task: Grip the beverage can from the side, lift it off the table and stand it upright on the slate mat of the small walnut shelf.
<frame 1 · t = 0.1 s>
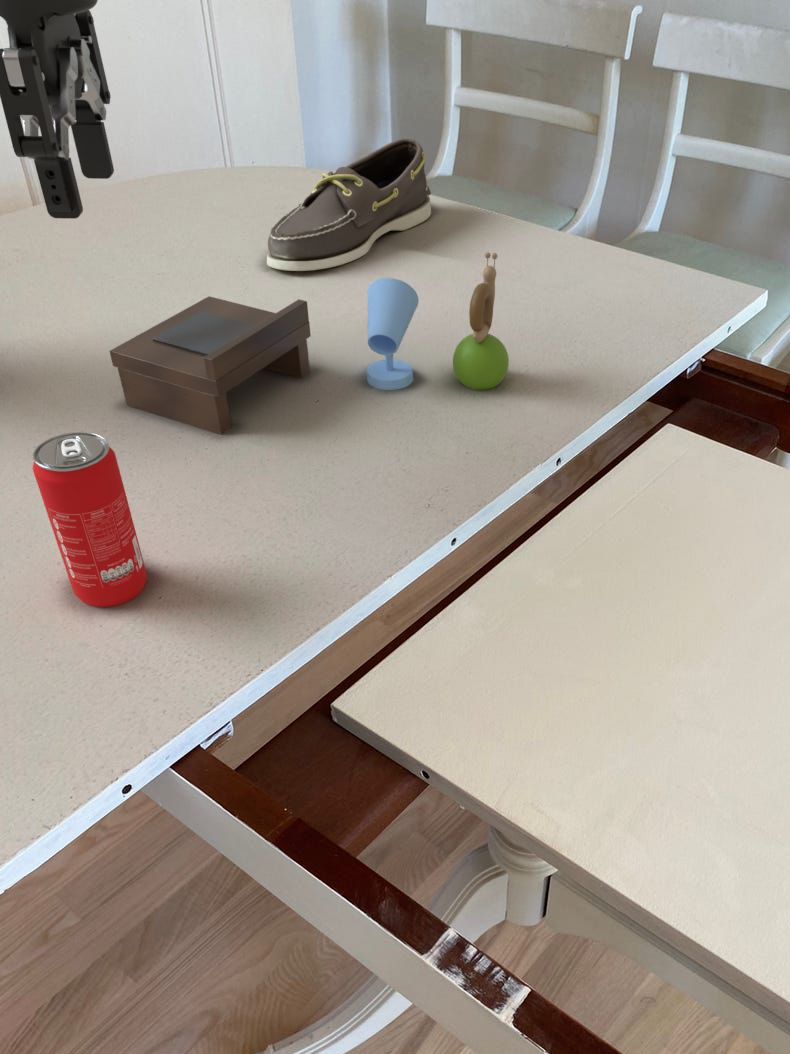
hand: (83, 196, 70), 22 cm above the table, tool pointing down, fingers open, 8 cm apart
boat shoe: (354, 242, 125), on the table
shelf: (222, 394, 94), on the table
snail figurine: (481, 387, 97), on the table
spotlight: (391, 385, 97), on the table
beverage can: (114, 594, 71), on the table
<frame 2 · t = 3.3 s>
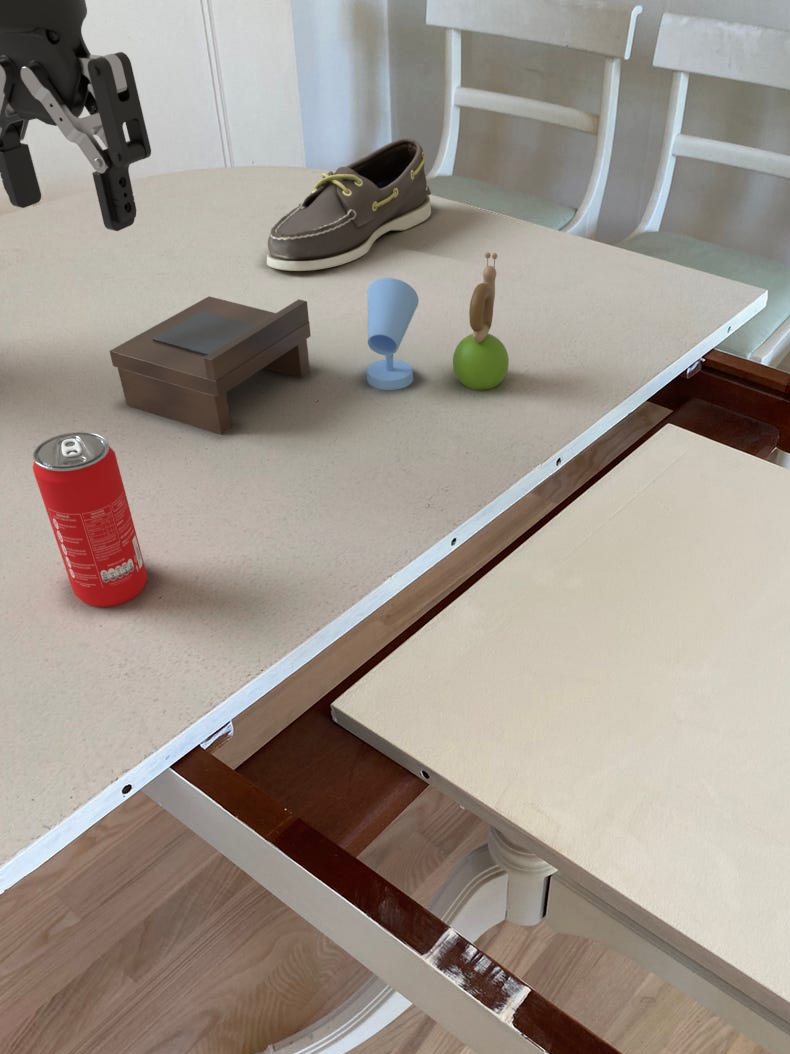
hand: (73, 215, 67), 22 cm above the table, tool pointing down, fingers open, 8 cm apart
nothing on the table moved.
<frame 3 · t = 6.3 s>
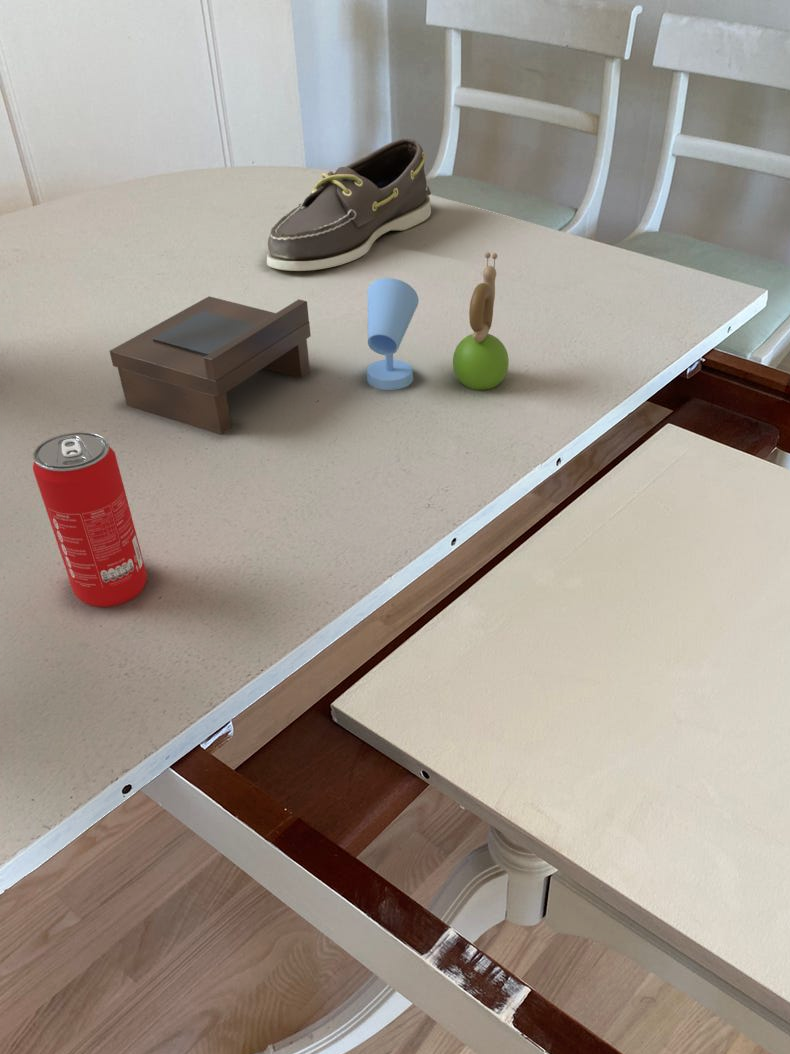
nothing on the table moved.
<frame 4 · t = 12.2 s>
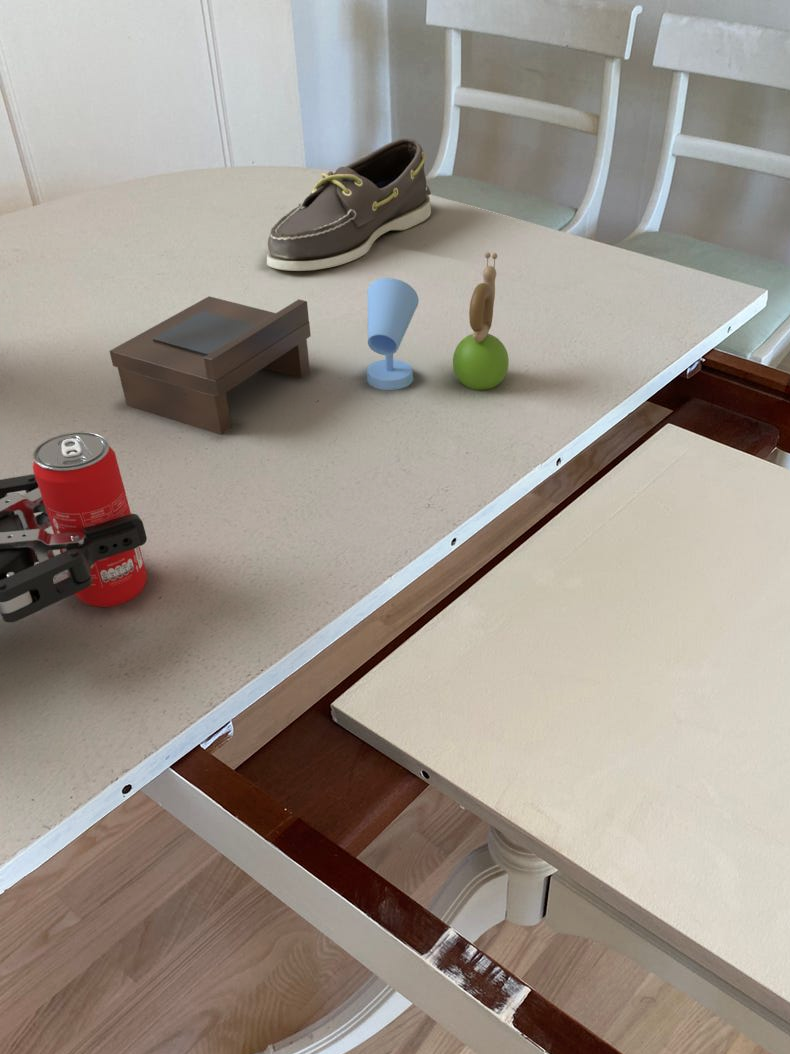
hand: (128, 507, 68), 7 cm above the table, tool horizontal, fingers closed on beverage can, 5 cm apart
beverage can: (114, 594, 71), on the table, touching gripper
everything else where it was.
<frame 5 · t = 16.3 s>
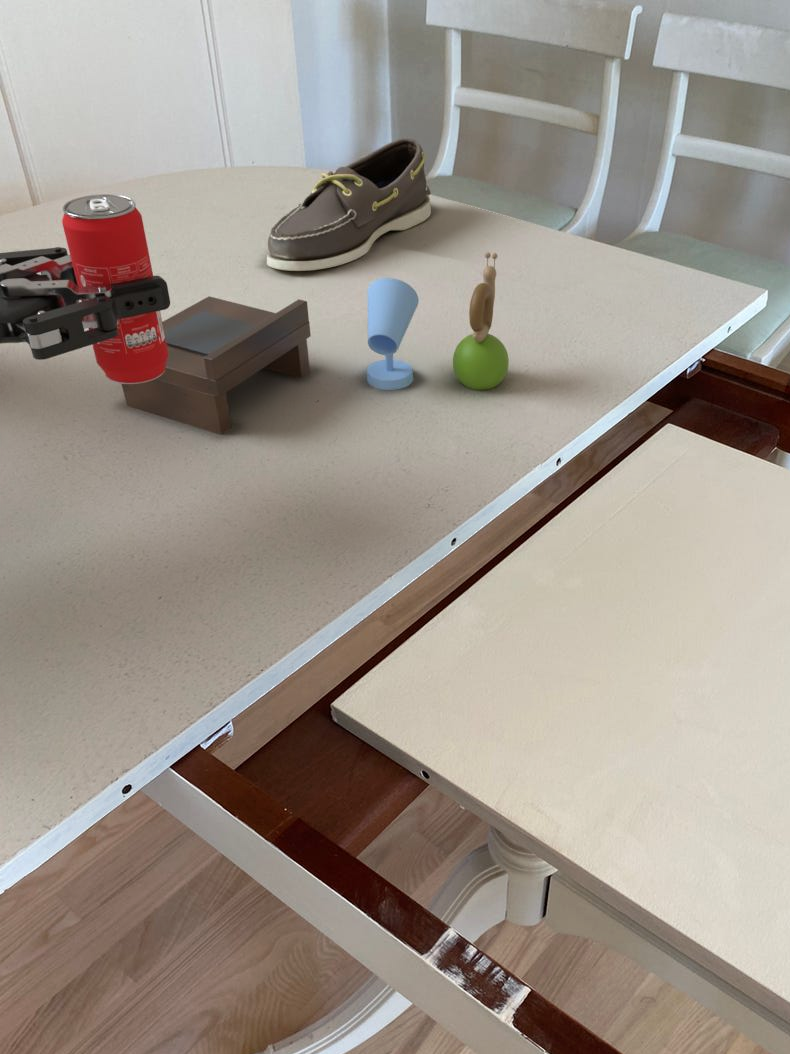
hand: (152, 278, 70), 18 cm above the table, tool horizontal, fingers closed on beverage can, 5 cm apart
beverage can: (136, 373, 74), point 11 cm above the table, touching gripper
everything else where it was.
when the fingers open (13 cm above the table, at t = 20.7 s): beverage can stays where it is, resting on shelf.
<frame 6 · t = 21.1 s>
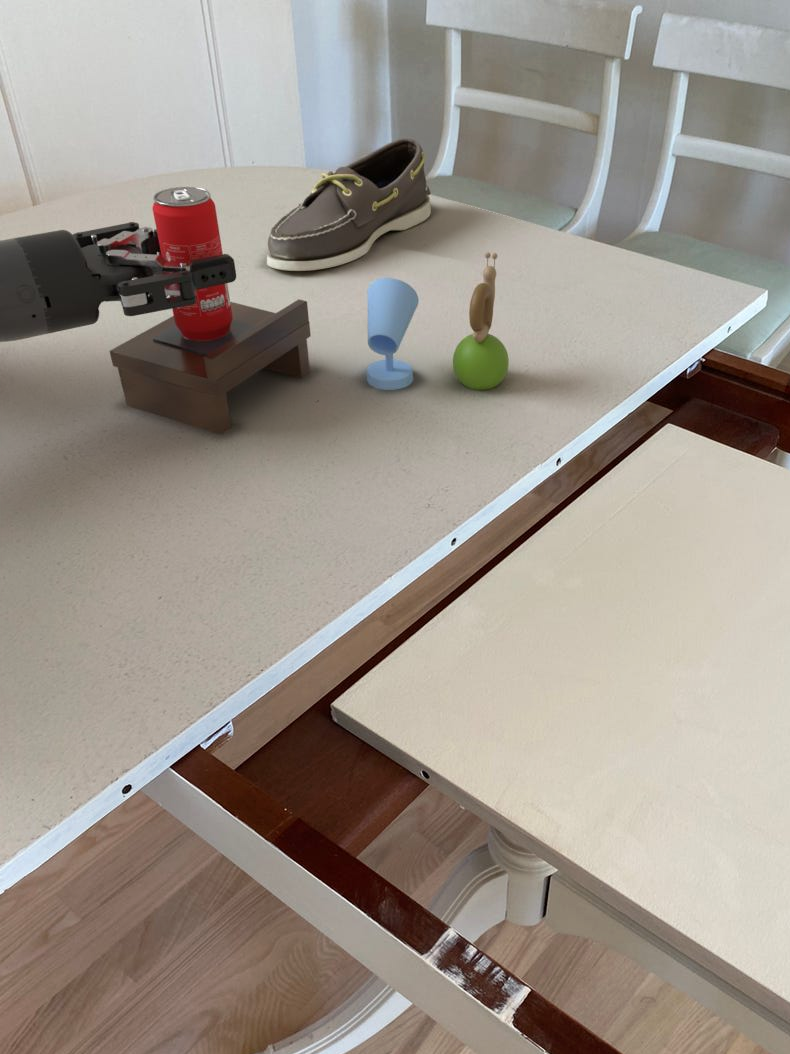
hand: (214, 251, 86), 13 cm above the table, tool horizontal, fingers open, 8 cm apart
beverage can: (206, 333, 90), point 6 cm above the table, touching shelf
everything else where it was.
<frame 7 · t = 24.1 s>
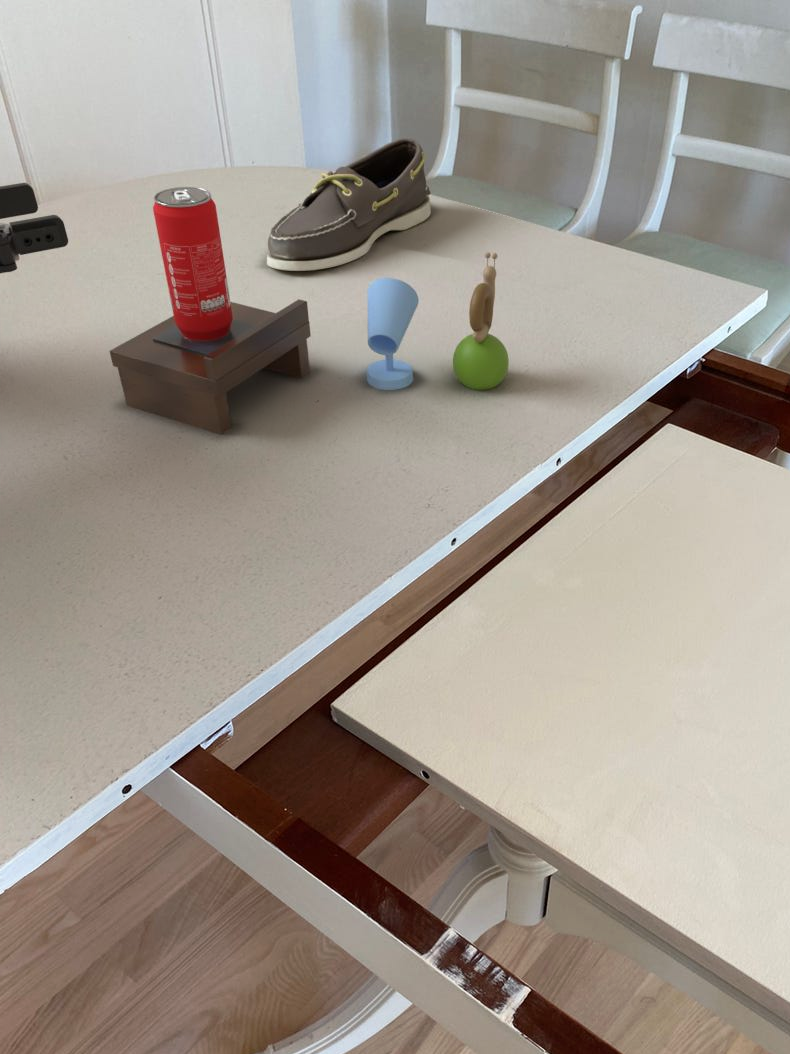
hand: (49, 213, 77), 19 cm above the table, tool horizontal, fingers open, 8 cm apart
nothing on the table moved.
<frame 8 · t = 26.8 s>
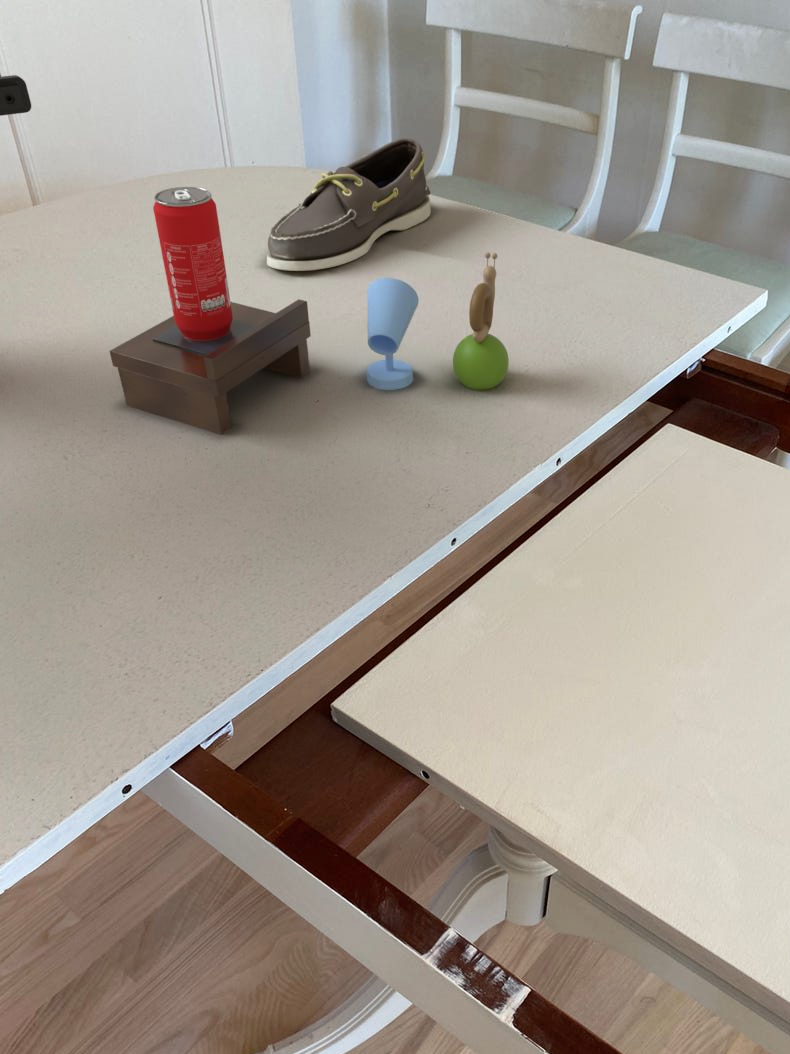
hand: (12, 80, 71), 28 cm above the table, tool horizontal, fingers open, 8 cm apart
nothing on the table moved.
at the end: beverage can 0.2 cm off-centre on the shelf, point 6.0 cm above the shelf's base; beverage can tilted 0°; the gripper is holding nothing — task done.
